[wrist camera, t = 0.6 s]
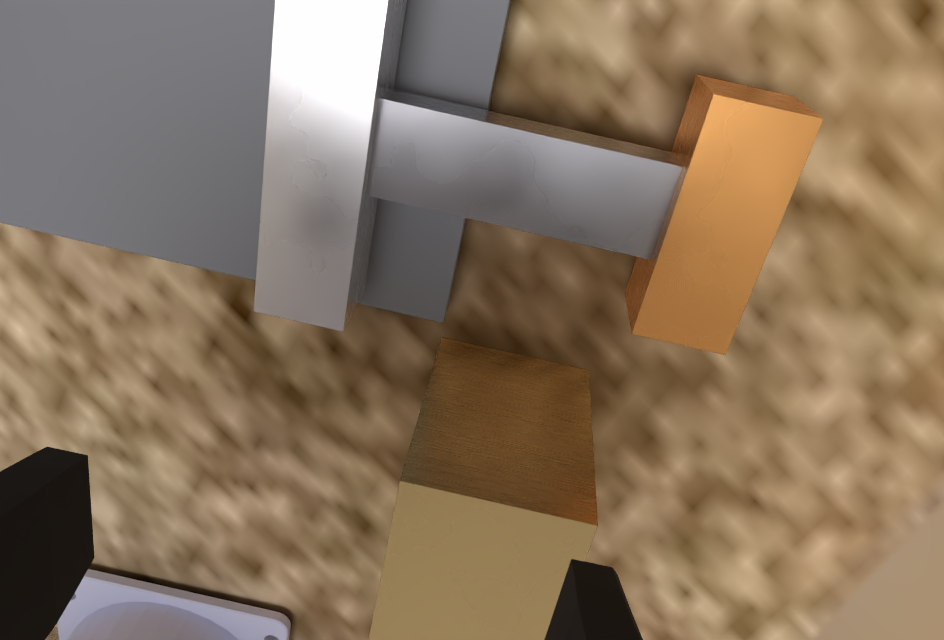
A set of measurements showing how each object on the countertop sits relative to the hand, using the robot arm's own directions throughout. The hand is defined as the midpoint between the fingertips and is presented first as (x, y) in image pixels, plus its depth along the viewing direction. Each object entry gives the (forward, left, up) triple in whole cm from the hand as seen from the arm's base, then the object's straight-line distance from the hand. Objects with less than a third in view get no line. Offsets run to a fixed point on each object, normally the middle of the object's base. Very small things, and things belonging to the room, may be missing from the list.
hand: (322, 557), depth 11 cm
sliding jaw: (+4, -2, -8) cm, 9 cm away
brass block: (-4, -3, -10) cm, 11 cm away
